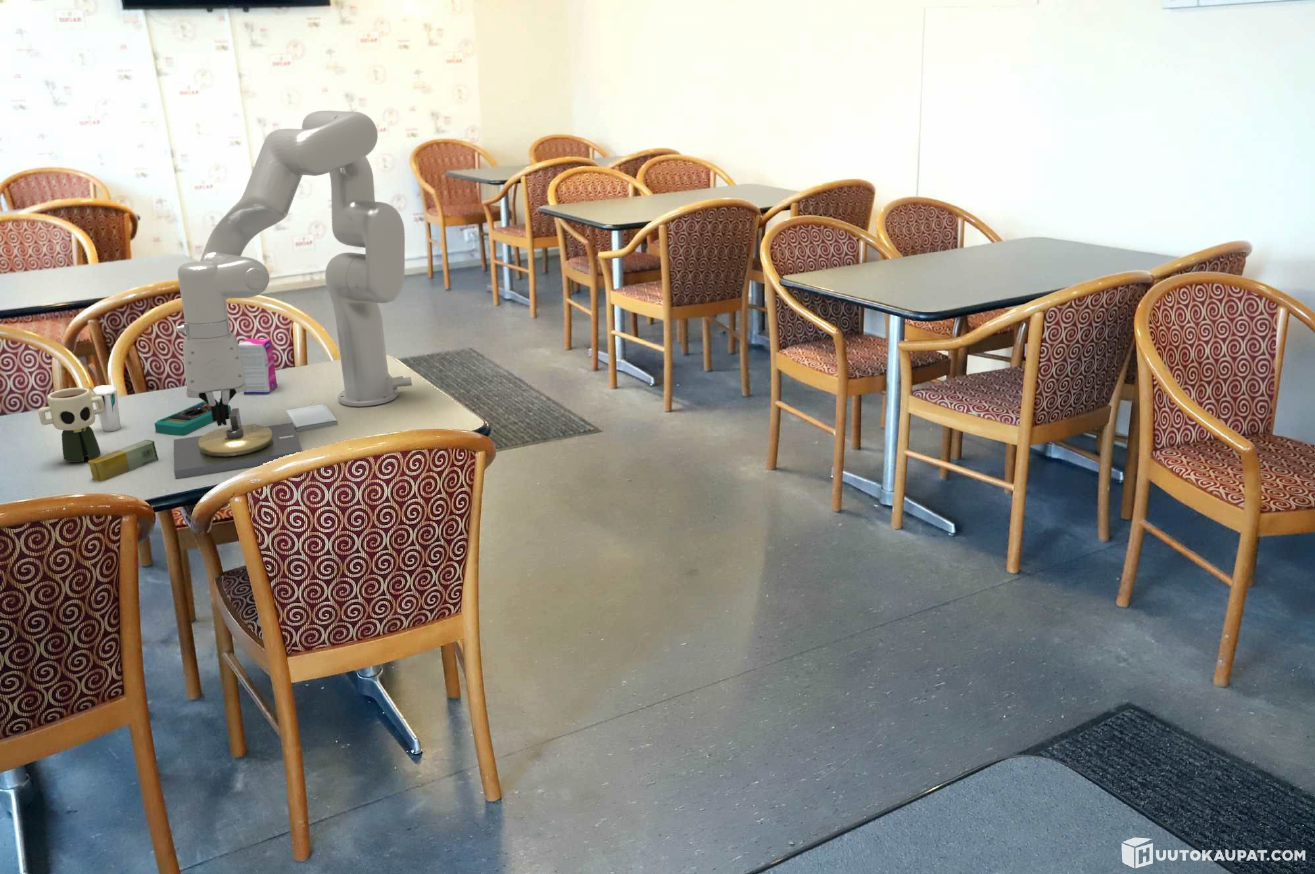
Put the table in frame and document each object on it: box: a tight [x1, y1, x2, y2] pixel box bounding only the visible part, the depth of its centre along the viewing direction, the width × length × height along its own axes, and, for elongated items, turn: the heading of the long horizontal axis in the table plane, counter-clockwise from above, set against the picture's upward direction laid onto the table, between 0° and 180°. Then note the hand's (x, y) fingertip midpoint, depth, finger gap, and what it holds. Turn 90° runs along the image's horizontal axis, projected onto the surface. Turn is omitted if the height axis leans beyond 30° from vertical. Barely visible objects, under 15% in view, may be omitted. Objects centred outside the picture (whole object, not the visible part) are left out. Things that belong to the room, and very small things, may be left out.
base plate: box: [173, 422, 303, 480], centre depth 201 cm, size 22×18×2 cm
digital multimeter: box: [153, 400, 232, 436], centre depth 218 cm, size 7×15×3 cm, turn 161°
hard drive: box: [285, 404, 339, 433], centre depth 219 cm, size 2×8×12 cm
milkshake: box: [89, 384, 122, 432], centre depth 213 cm, size 4×5×10 cm
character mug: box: [38, 387, 105, 463], centre depth 198 cm, size 11×7×13 cm, turn 131°
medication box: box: [87, 439, 159, 483], centre depth 194 cm, size 12×3×4 cm, turn 151°
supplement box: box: [238, 338, 278, 396], centre depth 236 cm, size 6×6×12 cm
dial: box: [198, 407, 273, 456], centre depth 200 cm, size 13×13×5 cm
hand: (221, 423), depth 202 cm, fingers closed
